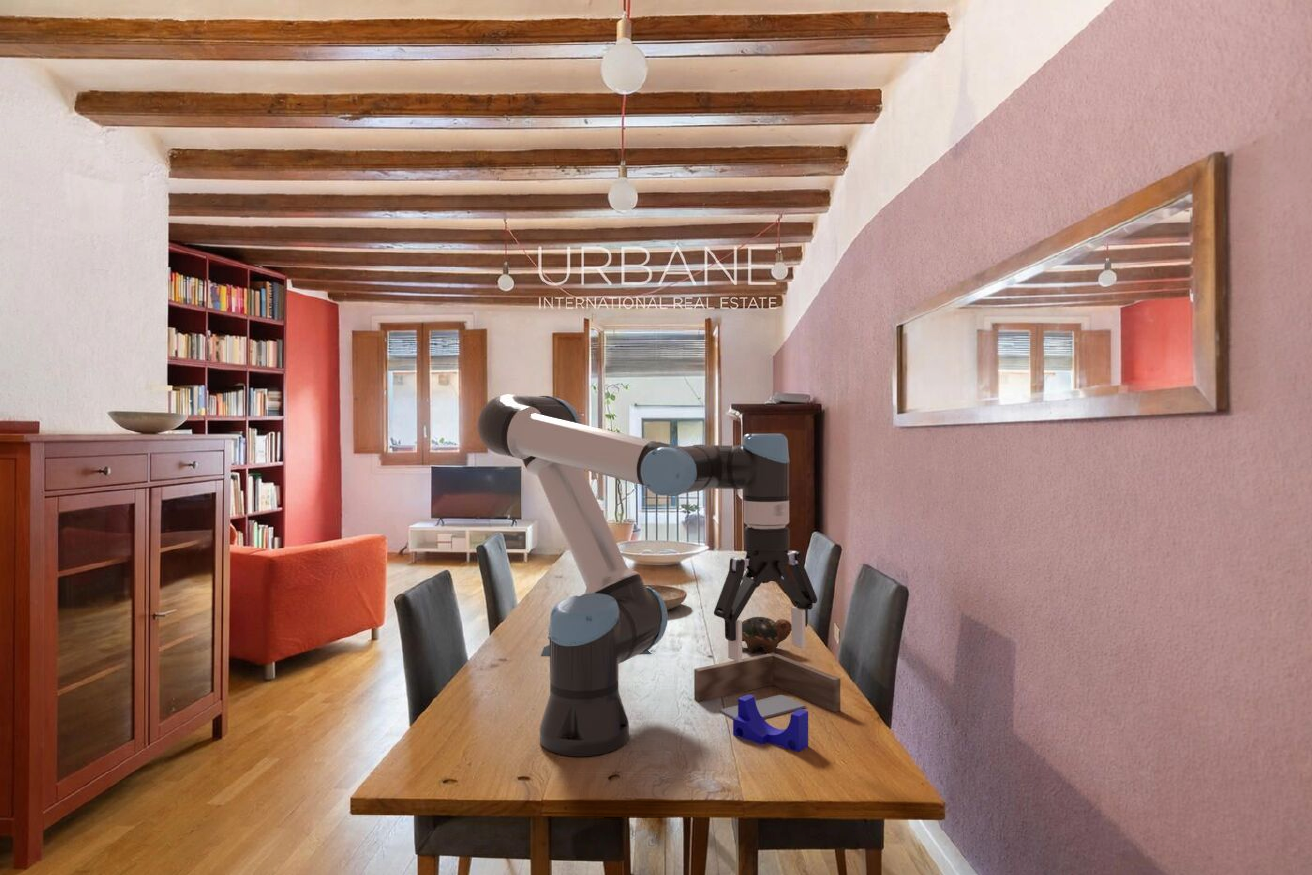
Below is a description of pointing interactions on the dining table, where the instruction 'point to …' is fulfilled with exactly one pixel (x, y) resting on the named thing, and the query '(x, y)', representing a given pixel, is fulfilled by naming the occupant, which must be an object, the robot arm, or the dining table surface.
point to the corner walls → (767, 679)
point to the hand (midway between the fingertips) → (767, 652)
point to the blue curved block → (770, 727)
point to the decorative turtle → (764, 633)
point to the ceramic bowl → (670, 595)
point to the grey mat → (768, 707)
